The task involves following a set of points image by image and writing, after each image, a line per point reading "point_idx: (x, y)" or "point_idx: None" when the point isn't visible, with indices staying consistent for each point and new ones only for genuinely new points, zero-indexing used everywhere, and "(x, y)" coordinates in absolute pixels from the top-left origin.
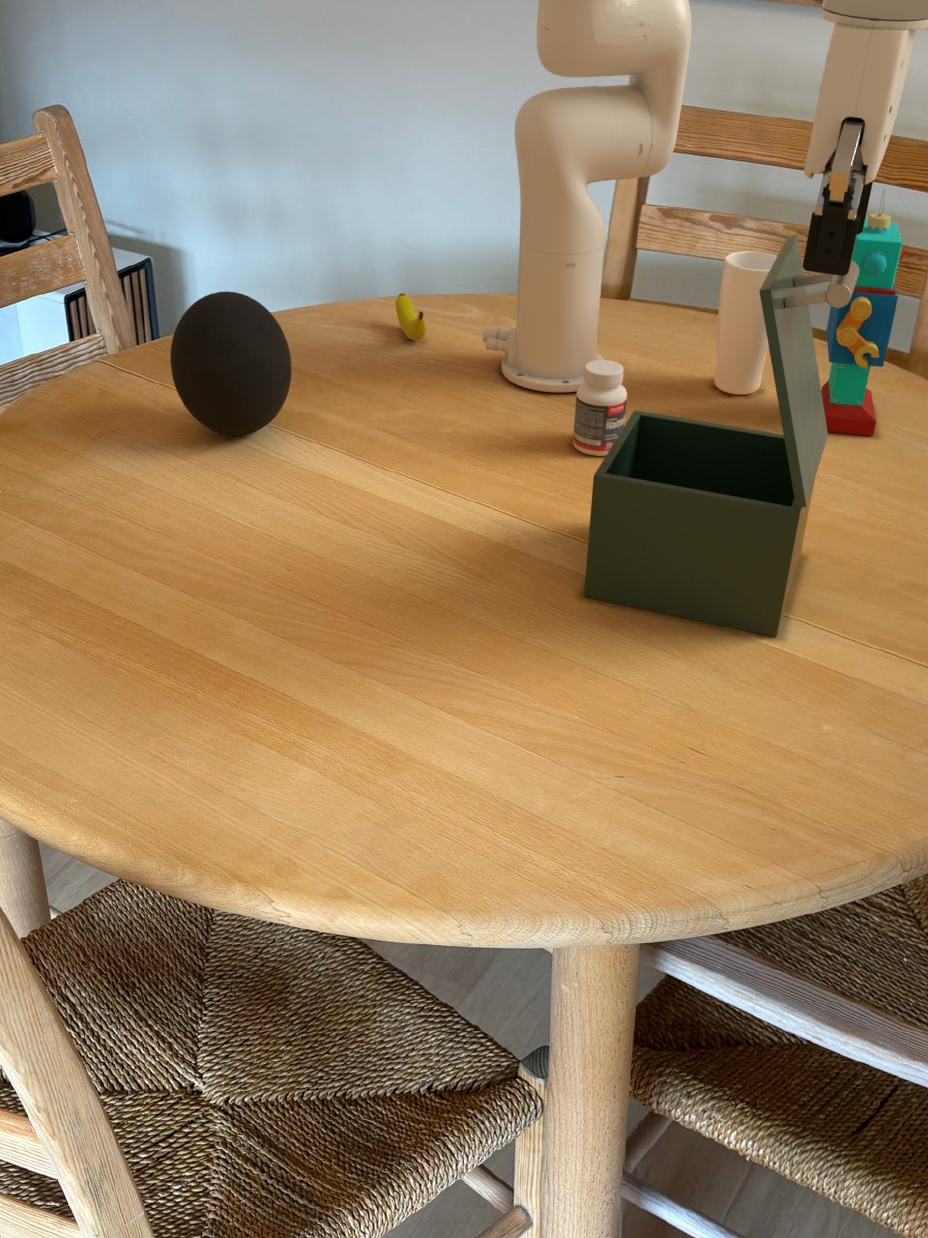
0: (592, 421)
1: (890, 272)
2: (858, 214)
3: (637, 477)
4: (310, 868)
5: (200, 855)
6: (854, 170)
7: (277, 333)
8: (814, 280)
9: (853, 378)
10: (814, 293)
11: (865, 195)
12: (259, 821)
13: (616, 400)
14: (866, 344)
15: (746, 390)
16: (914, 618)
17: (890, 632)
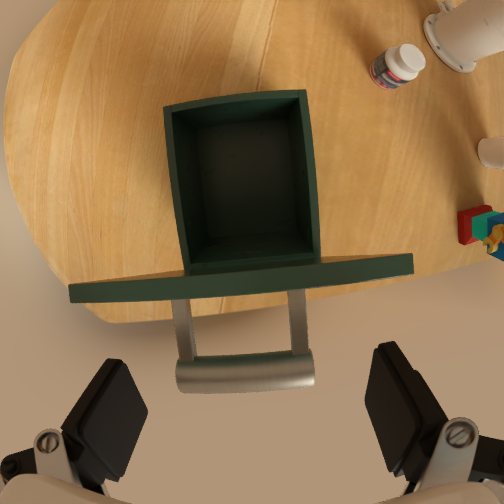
0: (379, 64)
1: None
2: (376, 420)
3: (291, 113)
4: (10, 143)
5: (7, 113)
6: (418, 471)
7: None
8: (289, 319)
9: (483, 232)
10: (183, 343)
11: (385, 453)
12: (18, 114)
13: (396, 73)
14: (494, 245)
15: (480, 159)
16: (263, 305)
17: (243, 297)
